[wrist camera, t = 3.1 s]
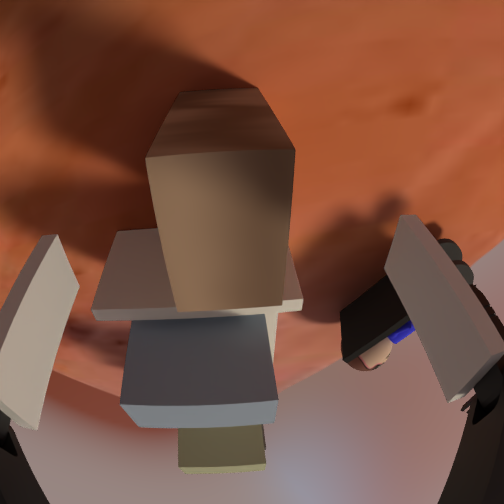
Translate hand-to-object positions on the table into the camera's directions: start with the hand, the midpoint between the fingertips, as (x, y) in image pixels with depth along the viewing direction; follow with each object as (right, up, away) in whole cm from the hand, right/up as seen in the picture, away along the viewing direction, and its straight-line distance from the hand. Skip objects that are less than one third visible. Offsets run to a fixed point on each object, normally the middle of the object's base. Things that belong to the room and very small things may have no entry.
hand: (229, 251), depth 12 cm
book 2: (-3, -2, +12) cm, 13 cm away
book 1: (-1, +7, +7) cm, 10 cm away
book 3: (-3, -14, +22) cm, 26 cm away
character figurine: (+14, -3, +17) cm, 22 cm away
